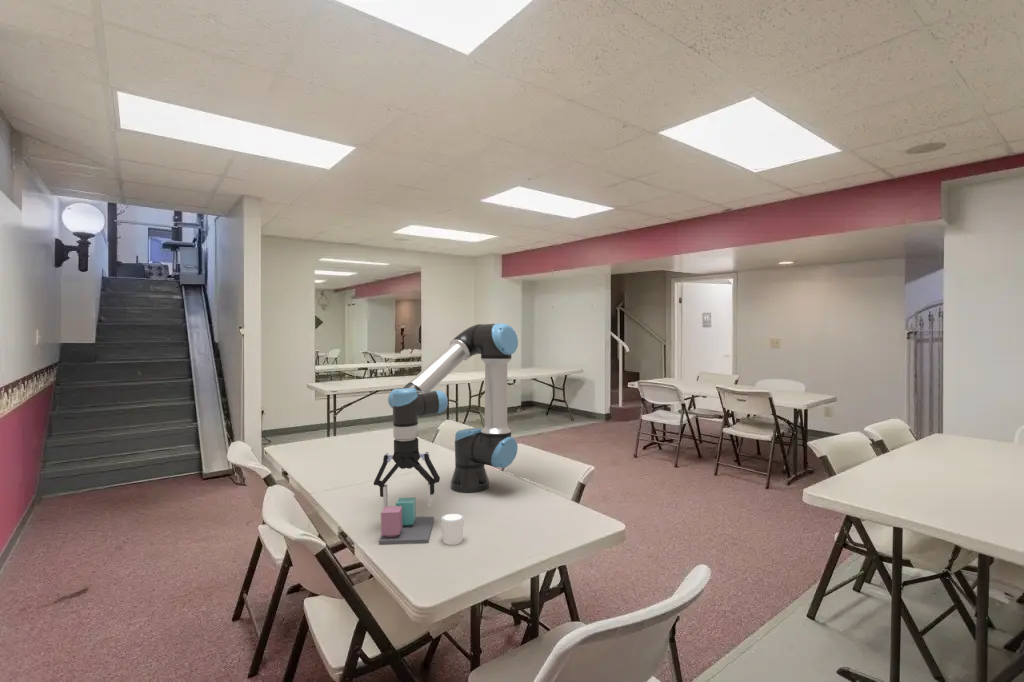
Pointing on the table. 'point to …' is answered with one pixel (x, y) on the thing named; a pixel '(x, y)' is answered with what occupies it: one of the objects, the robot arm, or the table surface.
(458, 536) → the white cup
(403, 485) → the table surface
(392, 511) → the stand
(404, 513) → the teal rectangular prism
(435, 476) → the robot arm
